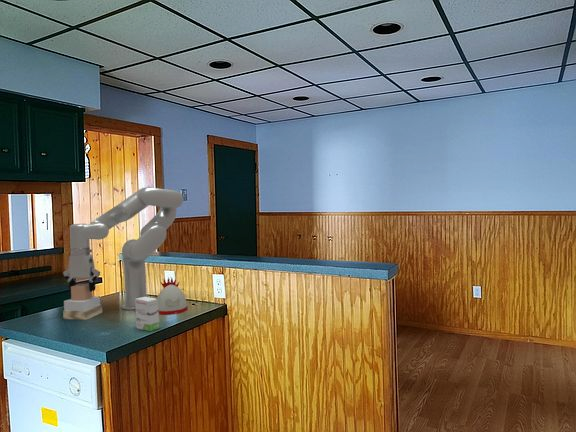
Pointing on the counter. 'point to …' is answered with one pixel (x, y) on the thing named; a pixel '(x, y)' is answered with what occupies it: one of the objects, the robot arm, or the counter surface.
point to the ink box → (147, 313)
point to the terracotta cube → (81, 292)
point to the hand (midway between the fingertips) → (82, 290)
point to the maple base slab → (82, 313)
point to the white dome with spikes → (171, 299)
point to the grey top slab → (81, 304)
